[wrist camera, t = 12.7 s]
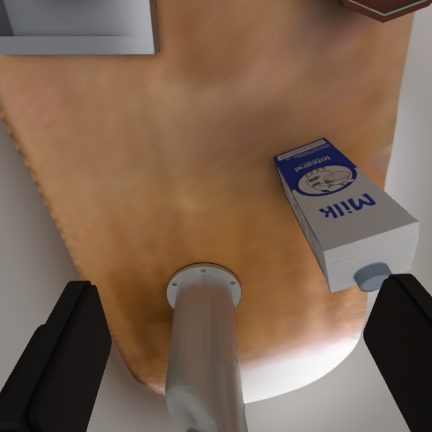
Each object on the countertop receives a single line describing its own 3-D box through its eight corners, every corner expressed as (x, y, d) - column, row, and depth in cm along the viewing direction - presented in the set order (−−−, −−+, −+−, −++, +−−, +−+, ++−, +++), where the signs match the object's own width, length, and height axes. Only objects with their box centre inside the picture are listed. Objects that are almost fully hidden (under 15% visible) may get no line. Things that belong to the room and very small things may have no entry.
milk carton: (325, 136, 38) (423, 222, 21) (335, 181, 41) (425, 286, 24) (272, 157, 39) (323, 254, 22) (285, 199, 43) (338, 310, 26)
